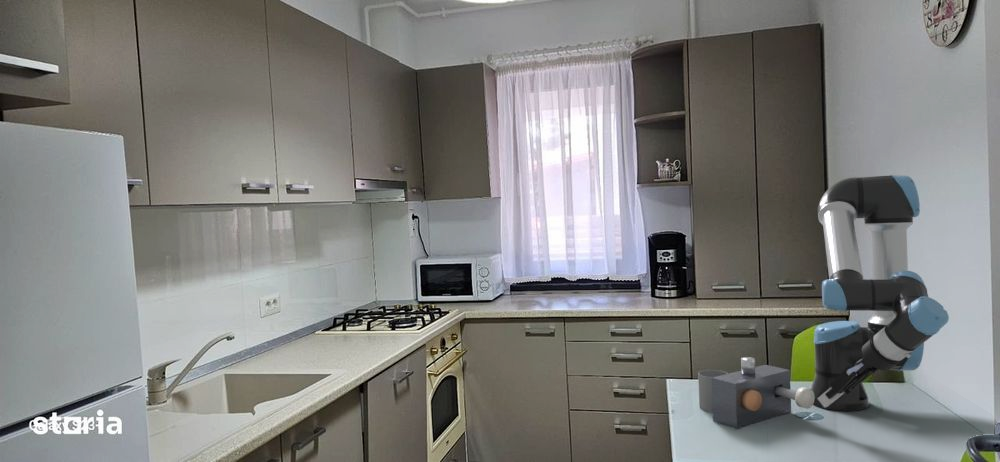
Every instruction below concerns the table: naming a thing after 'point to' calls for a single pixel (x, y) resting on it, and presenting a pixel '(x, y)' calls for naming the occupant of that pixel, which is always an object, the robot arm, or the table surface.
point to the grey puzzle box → (736, 384)
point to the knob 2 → (797, 396)
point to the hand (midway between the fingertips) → (822, 402)
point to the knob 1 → (752, 400)
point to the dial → (748, 365)
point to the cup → (707, 388)
